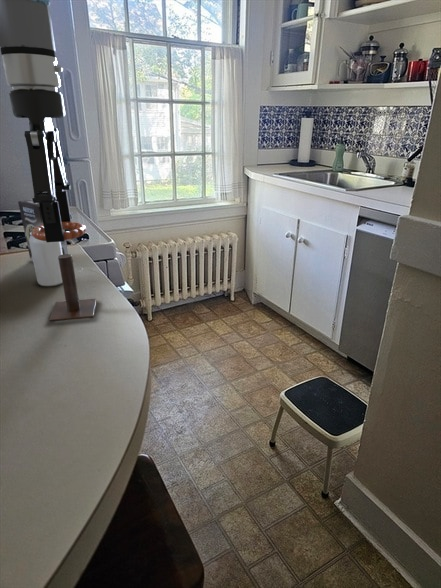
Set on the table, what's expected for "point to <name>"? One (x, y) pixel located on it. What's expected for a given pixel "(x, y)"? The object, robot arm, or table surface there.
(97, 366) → the table surface
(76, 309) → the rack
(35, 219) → the coffee box
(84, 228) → the ring
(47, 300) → the table surface
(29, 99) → the robot arm
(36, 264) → the can
